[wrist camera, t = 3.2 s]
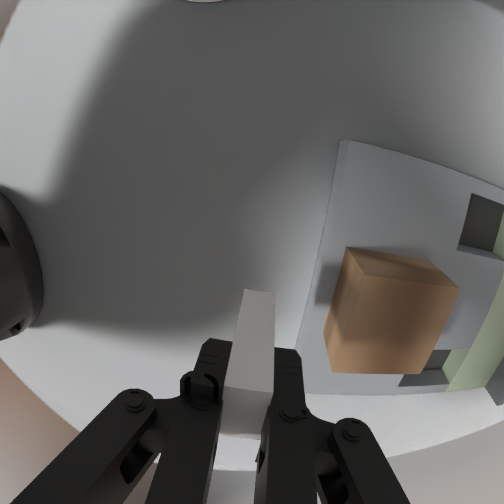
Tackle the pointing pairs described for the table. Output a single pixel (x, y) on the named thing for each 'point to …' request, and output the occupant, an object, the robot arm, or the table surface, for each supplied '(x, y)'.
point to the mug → (205, 0)
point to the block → (386, 313)
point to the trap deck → (422, 247)
